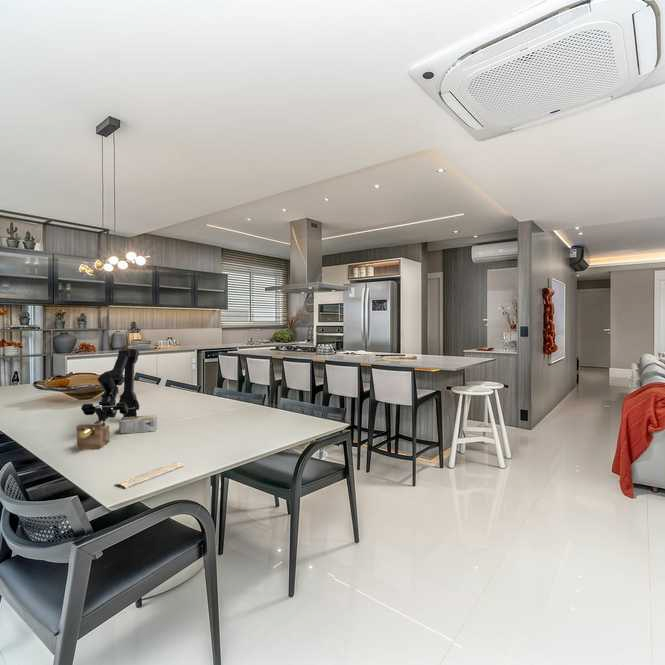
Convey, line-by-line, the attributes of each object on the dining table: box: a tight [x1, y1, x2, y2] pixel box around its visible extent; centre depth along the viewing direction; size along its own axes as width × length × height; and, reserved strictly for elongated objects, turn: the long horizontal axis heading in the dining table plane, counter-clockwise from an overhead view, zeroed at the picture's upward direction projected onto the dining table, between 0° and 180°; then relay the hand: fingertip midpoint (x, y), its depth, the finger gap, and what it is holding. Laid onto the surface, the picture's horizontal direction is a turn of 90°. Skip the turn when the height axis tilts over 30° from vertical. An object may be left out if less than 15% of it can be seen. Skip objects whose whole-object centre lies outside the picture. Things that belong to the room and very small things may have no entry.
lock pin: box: [79, 420, 106, 439], centre depth 175 cm, size 17×4×4 cm, turn 9°
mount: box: [76, 423, 110, 451], centre depth 177 cm, size 10×9×10 cm
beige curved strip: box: [113, 461, 186, 490], centre depth 142 cm, size 24×7×2 cm, turn 151°
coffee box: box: [118, 414, 158, 435], centre depth 202 cm, size 9×6×16 cm
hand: (100, 424), depth 184 cm, fingers closed
